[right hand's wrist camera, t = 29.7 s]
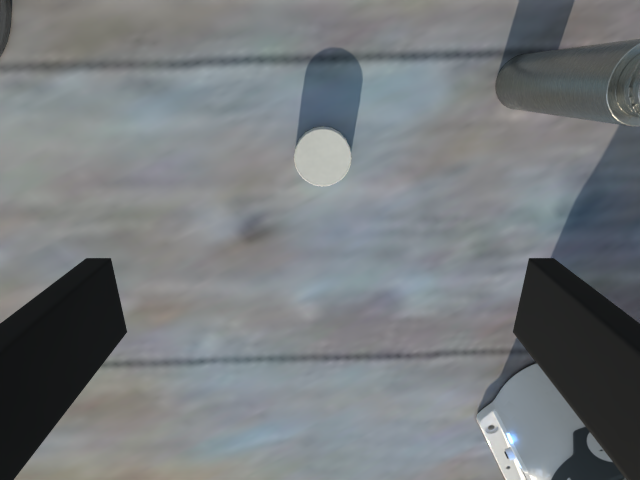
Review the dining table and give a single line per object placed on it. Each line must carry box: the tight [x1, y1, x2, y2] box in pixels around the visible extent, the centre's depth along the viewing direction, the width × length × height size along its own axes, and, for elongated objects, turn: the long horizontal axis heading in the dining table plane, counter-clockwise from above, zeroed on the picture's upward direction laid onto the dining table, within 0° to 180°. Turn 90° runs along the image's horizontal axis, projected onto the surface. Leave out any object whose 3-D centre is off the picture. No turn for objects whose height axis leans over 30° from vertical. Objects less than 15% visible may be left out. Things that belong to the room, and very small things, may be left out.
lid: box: [294, 126, 352, 186], centre depth 37 cm, size 5×5×2 cm
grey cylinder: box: [496, 39, 640, 127], centre depth 28 cm, size 5×5×17 cm
